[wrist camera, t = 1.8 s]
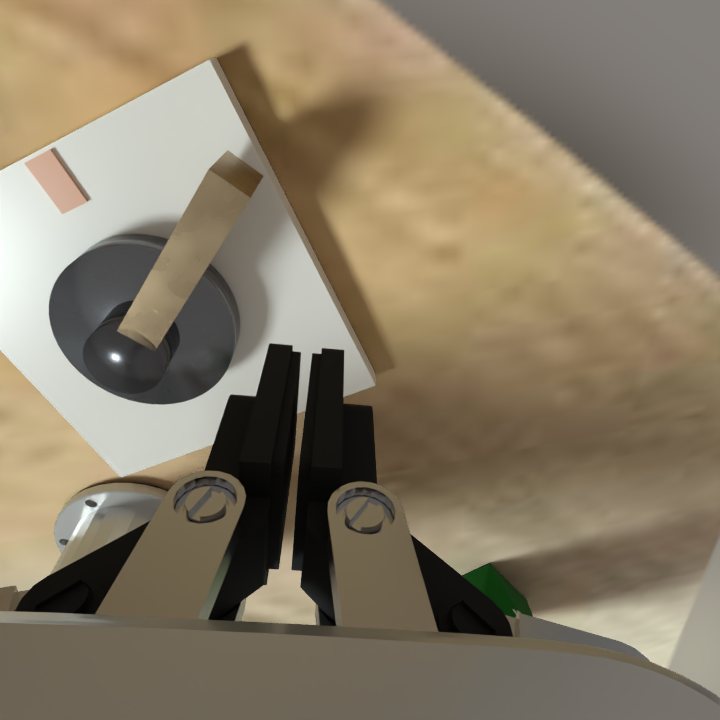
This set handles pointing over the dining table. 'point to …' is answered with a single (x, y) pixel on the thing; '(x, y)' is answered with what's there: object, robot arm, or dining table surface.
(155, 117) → the base plate
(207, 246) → the cam dial
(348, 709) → the robot arm
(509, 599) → the milk carton
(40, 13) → the dining table surface
